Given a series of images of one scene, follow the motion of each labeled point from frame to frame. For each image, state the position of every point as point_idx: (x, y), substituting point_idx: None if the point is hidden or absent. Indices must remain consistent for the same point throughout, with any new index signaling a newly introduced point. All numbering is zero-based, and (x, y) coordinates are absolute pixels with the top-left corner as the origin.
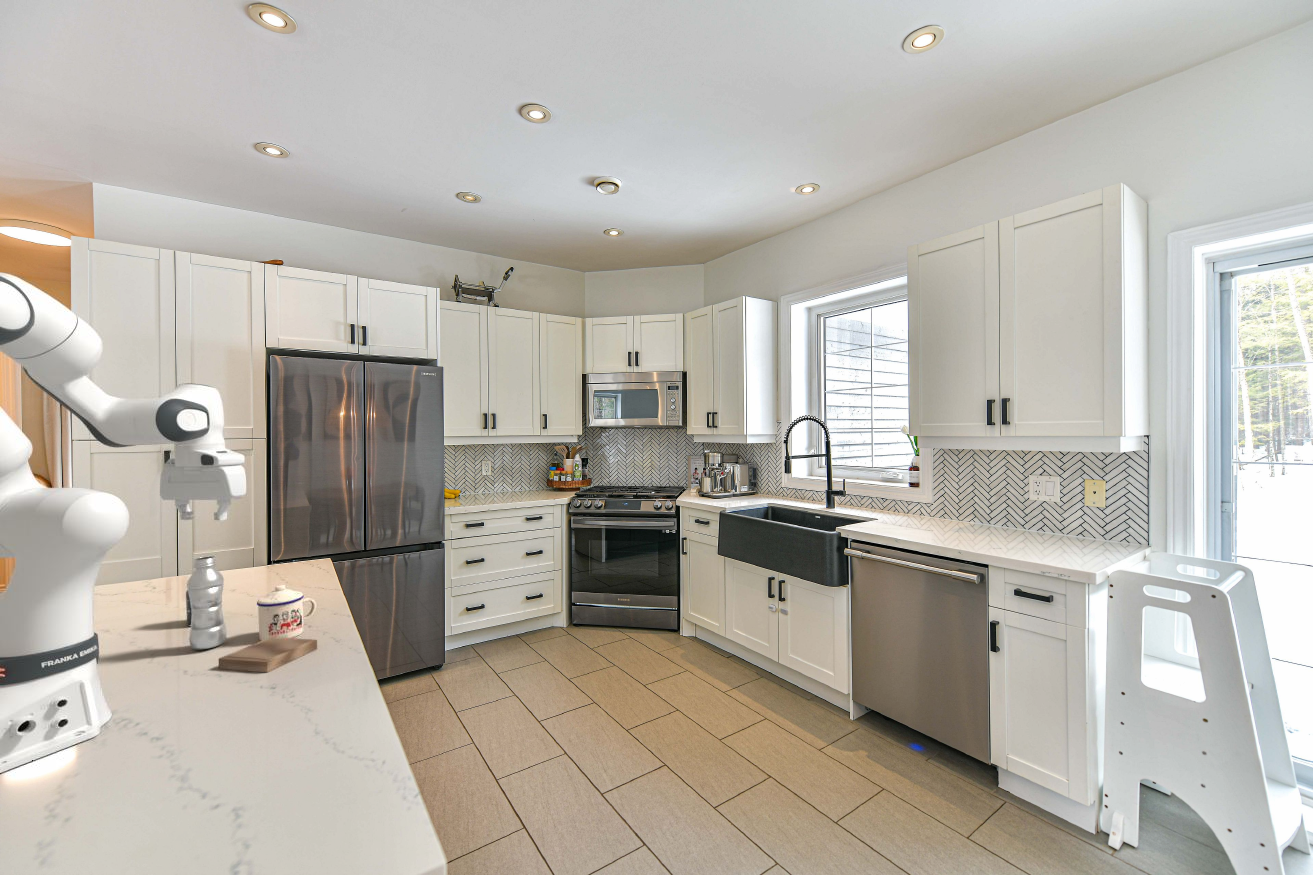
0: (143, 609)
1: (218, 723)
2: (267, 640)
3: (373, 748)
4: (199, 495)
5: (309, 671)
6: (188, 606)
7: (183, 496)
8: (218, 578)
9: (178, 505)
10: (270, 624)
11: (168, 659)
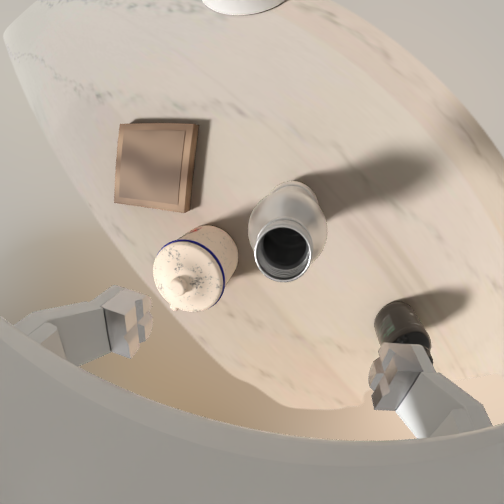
0: (492, 357)
1: (102, 36)
2: (176, 195)
3: (19, 64)
4: (128, 431)
5: (89, 137)
6: (414, 318)
7: (414, 464)
8: (248, 234)
9: (460, 406)
10: (192, 232)
11: (316, 155)
